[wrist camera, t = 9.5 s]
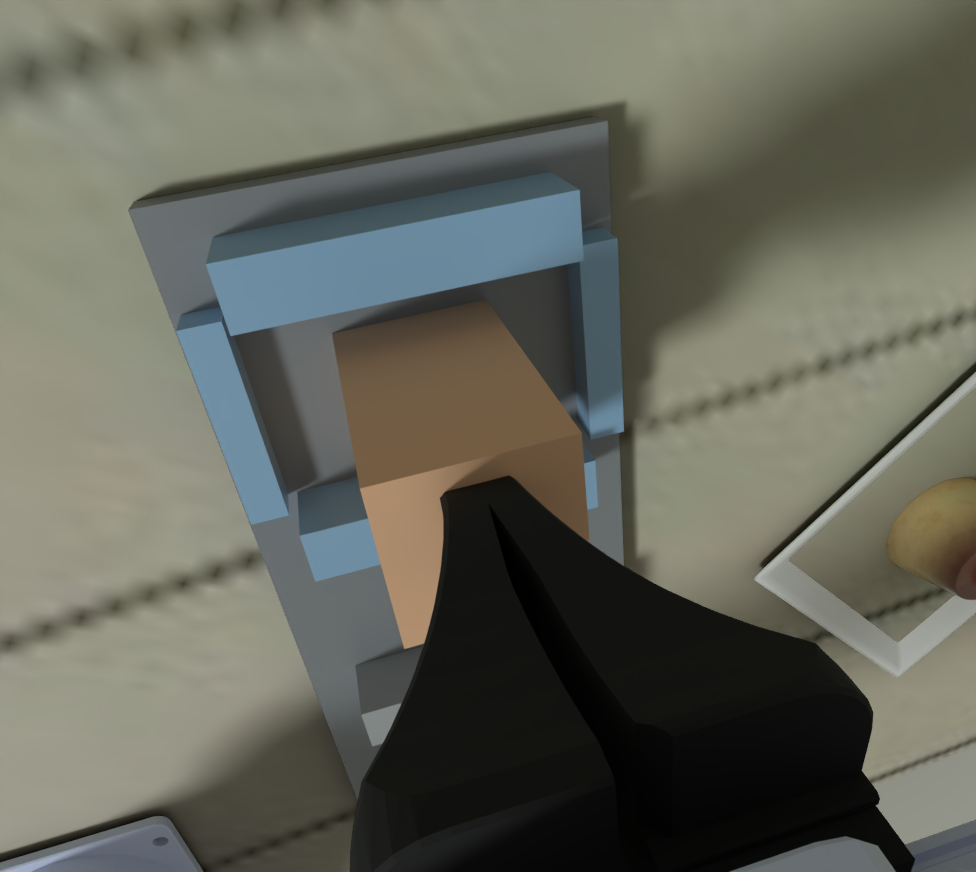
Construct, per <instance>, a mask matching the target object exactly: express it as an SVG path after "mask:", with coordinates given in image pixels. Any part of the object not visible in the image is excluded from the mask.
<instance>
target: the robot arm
mask: <svg viewBox="0 0 976 872" xmlns="http://www.w3.org/2000/svg"><path fill="white" fill-rule="evenodd" d="M440 502H441V507H442V512H443V548H442V560H441V569H440V575H439V581H438V587H437V593H436V598H435V603H434V608H433V612H432V617H431V621H430V625H429V628H428V632H427V635H426V639H425V642H424V646H423V649H422V651H421V654H420V657H419V660H418V663H417V666H416V669H415V672H414V675H413V677H412V680H411V683H410V685H409V688H408V690H407V692H406V695H405V697H404V699H403V701H402V704H401V706H400V708H399V710H398V713H397V715H396V717H395V719H394V722H393V724H392V726H391V728H390V730H389V732H388V734H387V736H386V738H385V740H384V742H383V744H382V745H381V747H380V749H379V751H378V753H377V754H376V756H375V758H374V760H373V762H372V763H371V765H370V767H369V769H368V771H367V772H366V774H365V776H364V778H363V780H362V782H361V786H360V791H359V796H358V802H357V807H356V812H355V818H354V825H353V831H352V840H351V851H350V872H976V820H974V821H971V822H968V823H965V824H962V825H959V826H957V827H954V828H951V829H948V830H945V831H942V832H940V833H937V834H934V835H931V836H928V837H926V838H923V839H920V840H917V841H914V842H911V843H908V844H904V843H903V842H902V841H901V839H900V838H899V836H898V835H897V834H896V832H895V831H894V830H893V828H892V827H891V826H890V824H889V823H888V821H887V820H886V819H885V817H884V816H883V815H882V813H881V812H880V811H879V809H878V808H877V807H876V805H877V804H878V803H879V800H880V798H879V795H878V792H877V790H876V789H875V788H874V786H873V785H872V784H871V783H870V781H869V780H868V779H867V777H866V776H865V775H864V773H863V772H862V767H863V763H864V759H865V755H866V751H867V747H868V743H869V739H870V735H871V731H872V722H873V711H872V708H871V706H870V703H869V701H868V699H867V698H866V697H865V695H864V694H863V693H862V692H861V691H860V689H859V688H858V687H857V686H856V685H855V683H854V682H853V681H852V680H851V679H850V678H849V676H848V675H847V674H846V673H845V672H844V671H843V670H842V669H841V668H840V667H839V666H838V665H837V664H836V663H835V662H834V661H833V660H832V659H831V658H830V657H829V656H828V655H827V654H826V653H825V652H823V651H822V649H821V648H820V647H819V646H818V645H817V644H816V643H813V642H809V641H806V640H802V639H799V638H795V637H792V636H788V635H785V634H781V633H778V632H774V631H771V630H767V629H764V628H760V627H757V626H754V625H751V624H748V623H745V622H743V621H740V620H737V619H734V618H732V617H729V616H726V615H723V614H721V613H718V612H716V611H713V610H711V609H708V608H706V607H703V606H701V605H699V604H697V603H694V602H692V601H690V600H688V599H686V598H683V597H681V596H679V595H677V594H674V593H672V592H670V591H668V590H666V589H664V588H662V587H660V586H658V585H656V584H654V583H652V582H651V581H649V580H647V579H645V578H644V577H642V576H640V575H638V574H637V573H635V572H633V571H631V570H630V569H628V568H626V567H625V566H623V565H622V564H620V563H619V562H617V561H615V560H614V559H612V558H611V557H609V556H608V555H606V554H605V553H604V552H602V551H601V550H599V549H598V548H596V547H595V546H593V545H592V544H591V543H589V542H588V541H587V540H585V539H584V538H583V537H581V536H580V535H579V534H577V533H576V532H575V531H574V530H572V529H571V528H570V527H568V526H567V525H566V524H565V523H563V522H562V521H561V520H560V519H558V518H557V517H556V516H555V515H554V514H552V513H551V512H550V511H549V510H548V509H547V508H546V507H544V506H543V505H542V504H541V503H540V502H539V501H538V500H537V499H535V498H534V497H533V496H532V495H531V494H530V493H529V492H528V491H527V490H526V489H525V488H524V487H523V486H522V485H521V484H520V483H519V482H518V481H517V480H516V479H514V478H513V477H511V476H510V475H509V476H505V477H501V478H497V479H493V480H490V481H486V482H482V483H478V484H474V485H470V486H466V487H462V488H458V489H454V490H450V491H446V492H444V493H443V495H442V496H441V497H440ZM0 872H203V870H202V868H201V867H200V865H199V864H198V862H197V861H196V859H195V858H194V856H193V854H192V853H191V851H190V850H189V848H188V847H187V845H186V844H185V842H184V841H183V839H182V837H181V836H180V834H179V833H178V831H177V830H176V828H175V827H174V825H173V823H172V822H171V821H170V820H169V819H168V818H167V817H164V816H154V817H150V818H147V819H143V820H140V821H137V822H133V823H130V824H127V825H123V826H120V827H117V828H113V829H110V830H107V831H103V832H100V833H97V834H93V835H90V836H87V837H83V838H80V839H77V840H74V841H70V842H67V843H64V844H60V845H57V846H54V847H50V848H47V849H44V850H40V851H37V852H34V853H30V854H27V855H24V856H20V857H17V858H14V859H10V860H7V861H4V862H0Z"/></svg>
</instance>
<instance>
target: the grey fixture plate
mask: <svg viewBox="0 0 976 872" xmlns="http://www.w3.org/2000/svg"><path fill="white" fill-rule="evenodd" d="M128 211H129V213H130V216H131V219H132V221H133V224H134V226H135V229H136V232H137V234H138V237H139V239H140V242H141V244H142V247H143V250H144V252H145V255H146V257H147V260H148V262H149V265H150V268H151V270H152V273H153V275H154V278H155V280H156V283H157V286H158V288H159V291H160V293H161V296H162V298H163V301H164V304H165V306H166V309H167V311H168V314H169V317H170V319H171V322H172V324H173V327H174V329H175V332H176V335H177V337H178V340H179V342H180V345H181V347H182V350H183V353H184V355H185V358H186V360H187V363H188V365H189V368H190V371H191V373H192V376H193V378H194V381H195V383H196V386H197V389H198V391H199V394H200V396H201V399H202V402H203V404H204V407H205V409H206V412H207V414H208V417H209V420H210V422H211V425H212V427H213V430H214V432H215V435H216V438H217V440H218V443H219V445H220V448H221V450H222V453H223V456H224V458H225V461H226V463H227V466H228V469H229V471H230V474H231V476H232V479H233V481H234V484H235V487H236V489H237V492H238V494H239V497H240V499H241V502H242V505H243V507H244V510H245V512H246V515H247V517H248V520H249V523H250V525H251V528H252V530H253V533H254V535H255V538H256V541H257V543H258V546H259V548H260V551H261V554H262V556H263V559H264V561H265V564H266V566H267V569H268V572H269V574H270V577H271V579H272V582H273V584H274V587H275V590H276V592H277V595H278V597H279V600H280V602H281V605H282V608H283V610H284V613H285V615H286V618H287V620H288V623H289V626H290V628H291V631H292V633H293V636H294V639H295V641H296V644H297V646H298V649H299V651H300V654H301V657H302V659H303V662H304V664H305V667H306V669H307V672H308V675H309V677H310V680H311V682H312V685H313V687H314V690H315V693H316V695H317V698H318V700H319V703H320V705H321V708H322V711H323V713H324V716H325V718H326V721H327V724H328V726H329V729H330V731H331V734H332V736H333V739H334V742H335V744H336V747H337V749H338V752H339V754H340V757H341V760H342V762H343V765H344V767H345V770H346V772H347V775H348V778H349V780H350V783H351V785H352V788H353V790H354V793H355V796H356V798H357V801H358V796H359V791H360V786H361V782H362V780H363V778H364V776H365V774H366V772H367V771H368V769H369V767H370V765H371V763H372V762H373V760H374V758H375V756H376V754H377V753H378V751H379V749H380V747H381V745H382V744H383V742H384V740H385V738H386V736H387V734H388V732H389V730H390V728H391V726H392V724H393V722H394V719H395V717H396V715H397V713H398V710H399V708H400V706H401V704H402V701H403V699H404V697H405V695H406V692H407V690H408V688H409V685H410V683H411V680H412V677H413V675H414V672H415V669H416V666H417V663H418V660H419V657H420V654H421V651H422V649H423V646H424V644H421V645H417V646H414V647H410V648H407V649H404V646H403V642H402V639H401V635H400V632H399V628H398V624H397V621H396V617H395V614H394V610H393V606H392V603H391V599H390V596H389V592H388V588H387V585H386V581H385V578H384V574H383V570H382V567H381V563H380V560H379V556H378V552H377V549H376V545H375V542H374V538H373V534H372V531H371V527H370V524H369V520H368V516H367V513H366V509H365V505H364V502H363V498H362V495H361V491H360V487H359V481H358V476H357V470H356V465H355V459H354V454H353V448H352V442H351V437H350V431H349V426H348V420H347V415H346V409H345V404H344V398H343V393H342V387H341V381H340V376H339V370H338V365H337V359H336V354H335V348H334V343H333V337H332V333H336V332H340V331H345V330H349V329H354V328H359V327H363V326H368V325H372V324H377V323H381V322H386V321H390V320H395V319H400V318H404V317H409V316H413V315H418V314H422V313H427V312H432V311H436V310H441V309H445V308H450V307H454V306H459V305H463V304H468V303H473V302H477V301H482V300H487V301H488V303H489V304H490V306H491V307H492V308H493V310H494V311H495V313H496V314H497V315H498V317H499V318H500V320H501V321H502V322H503V324H504V325H505V326H506V328H507V329H508V331H509V332H510V333H511V335H512V336H513V338H514V339H515V340H516V342H517V343H518V345H519V346H520V347H521V349H522V350H523V352H524V353H525V354H526V356H527V357H528V359H529V360H530V361H531V363H532V364H533V365H534V367H535V368H536V370H537V371H538V372H539V374H540V375H541V377H542V378H543V379H544V381H545V382H546V384H547V385H548V386H549V388H550V389H551V391H552V392H553V393H554V395H555V396H556V397H557V399H558V400H559V402H560V403H561V404H562V406H563V407H564V409H565V410H566V411H567V413H568V414H569V416H570V417H571V418H572V420H573V421H574V423H575V424H576V425H577V427H578V428H579V430H580V431H581V432H582V442H583V456H584V470H585V484H586V498H587V511H588V525H589V539H590V543H591V544H592V545H593V546H595V547H596V548H598V549H599V550H601V551H602V552H604V553H605V554H606V555H608V556H609V557H611V558H612V559H614V560H615V561H617V562H619V563H620V564H622V565H623V566H624V554H623V527H622V499H621V471H620V444H619V433H620V432H624V418H623V386H622V355H621V324H620V293H619V261H618V238H617V237H616V236H614V235H613V234H612V222H611V195H610V167H609V140H608V121H607V120H604V119H601V118H599V117H596V116H594V117H589V118H584V119H578V120H573V121H567V122H562V123H557V124H551V125H546V126H540V127H535V128H529V129H524V130H519V131H513V132H508V133H502V134H497V135H492V136H486V137H481V138H475V139H470V140H464V141H459V142H454V143H448V144H443V145H437V146H432V147H427V148H421V149H416V150H410V151H405V152H400V153H394V154H389V155H383V156H378V157H372V158H367V159H362V160H356V161H351V162H345V163H340V164H335V165H329V166H324V167H318V168H313V169H307V170H302V171H297V172H291V173H286V174H280V175H275V176H270V177H264V178H259V179H253V180H248V181H243V182H237V183H232V184H226V185H221V186H215V187H210V188H205V189H199V190H194V191H188V192H183V193H178V194H172V195H167V196H161V197H156V198H150V199H145V200H140V201H134V202H133V204H132V205H131V207H130V208H129V210H128Z"/></svg>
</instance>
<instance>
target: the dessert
mask: <svg viewBox="0 0 976 872" xmlns="http://www.w3.org/2000/svg"><path fill="white" fill-rule="evenodd" d="M975 387H976V372H975V373H974V374H972V375H971V376H970V377H969V378H968V379H967V380H966V381H965V382H964V383H963V384H962V385H961V386H960V387H958V388H957V389H956V390H955V391H954V392H953V393H952V394H951V395H950V396H949V397H948V398H947V399H945V400H944V401H943V402H942V403H941V404H940V405H939V406H938V407H937V408H936V409H935V410H934V411H933V412H931V413H930V414H929V415H928V416H927V417H926V418H925V419H924V420H923V421H922V422H921V423H920V424H918V425H917V426H916V427H915V428H914V429H913V430H912V431H911V432H910V433H909V434H908V435H907V436H906V437H904V438H903V439H902V440H901V441H900V442H899V443H898V444H897V445H896V446H895V447H894V448H893V449H892V450H890V451H889V452H888V453H887V454H886V455H885V456H884V457H883V458H882V459H881V460H880V461H879V462H877V463H876V464H875V465H874V466H873V467H872V468H871V469H870V470H869V471H868V472H867V473H866V474H865V475H863V476H862V477H861V478H860V479H859V480H858V481H857V482H856V483H855V484H854V485H853V486H852V487H850V488H849V489H848V490H847V491H846V492H845V493H844V494H843V495H842V496H841V497H840V498H839V499H838V500H836V501H835V502H834V503H833V504H832V505H831V506H830V507H829V508H828V509H827V510H826V511H825V512H823V513H822V514H821V515H820V516H819V517H818V518H817V519H816V520H815V521H814V522H813V523H812V524H811V525H809V526H808V527H807V528H806V529H805V530H804V531H803V532H802V533H801V534H800V535H799V536H798V537H797V538H795V539H794V540H793V541H792V542H791V543H790V544H789V545H788V546H787V547H786V548H785V549H784V550H782V551H781V552H780V553H779V554H778V555H777V556H776V557H775V558H774V559H773V560H772V561H771V562H770V563H768V564H767V565H766V566H765V567H764V568H763V569H762V570H761V571H760V572H759V573H758V574H757V575H756V576H755V578H754V579H755V581H756V582H758V583H759V584H760V585H762V586H763V587H765V588H766V589H768V590H769V591H771V592H772V593H774V594H775V595H776V596H778V597H779V598H781V599H782V600H784V601H785V602H787V603H788V604H789V605H791V606H792V607H794V608H795V609H797V610H798V611H800V612H801V613H803V614H804V615H805V616H807V617H808V618H810V619H811V620H813V621H814V622H816V623H817V624H818V625H820V626H821V627H823V628H824V629H826V630H827V631H829V632H830V633H832V634H833V635H834V636H836V637H837V638H839V639H840V640H842V641H843V642H845V643H846V644H847V645H849V646H850V647H852V648H853V649H855V650H856V651H858V652H859V653H861V654H862V655H863V656H865V657H866V658H868V659H869V660H871V661H872V662H874V663H875V664H876V665H878V666H879V667H881V668H882V669H884V670H885V671H887V672H888V673H889V674H891V675H892V676H894V677H895V678H898V677H900V676H901V675H902V674H903V673H904V672H906V671H907V670H908V669H909V668H910V667H912V666H913V665H914V664H915V663H916V662H918V661H919V660H920V659H921V658H923V657H924V656H925V655H926V654H927V653H929V652H930V651H931V650H932V649H933V648H935V647H936V646H937V645H938V644H939V643H941V642H942V641H943V640H944V639H946V638H947V637H948V636H949V635H950V634H952V633H953V632H954V631H955V630H956V629H958V628H959V627H960V626H961V625H963V624H964V623H965V622H966V621H967V620H969V619H970V618H971V617H972V616H973V615H975V614H976V480H973V479H970V478H956V479H951V480H947V481H944V482H942V483H939V484H937V485H935V486H933V487H931V488H929V489H928V490H926V491H925V492H923V493H922V494H920V495H919V496H918V497H916V498H915V499H914V500H913V501H912V502H911V503H910V504H909V505H908V506H907V507H906V508H905V509H904V510H903V511H902V512H901V514H900V515H899V516H898V518H897V519H896V521H895V522H894V524H893V526H892V528H891V530H890V532H889V535H888V539H887V544H886V550H887V555H888V558H889V559H890V561H891V562H892V563H893V564H894V565H896V566H897V567H899V568H902V569H904V570H906V571H908V572H910V573H912V574H914V575H916V576H918V577H920V578H922V579H924V580H926V581H928V582H930V583H932V584H934V585H936V586H938V587H940V588H942V589H944V590H946V591H948V592H950V593H952V594H954V596H953V597H952V598H951V599H950V600H948V601H947V602H946V603H945V604H944V605H942V606H941V607H940V608H939V609H938V610H937V611H935V612H934V613H933V614H932V615H931V616H929V617H928V618H927V619H926V620H925V621H924V622H922V623H921V624H920V625H919V626H918V627H916V628H915V629H914V630H913V631H912V632H911V633H909V634H908V635H907V636H906V637H905V638H903V639H902V640H901V641H899V642H896V641H894V640H893V639H892V638H890V637H889V636H888V635H886V634H885V633H884V632H882V631H881V630H880V629H878V628H877V627H876V626H874V625H873V624H872V623H870V622H869V621H868V620H866V619H865V618H864V617H863V616H861V615H860V614H859V613H857V612H856V611H855V610H853V609H852V608H851V607H849V606H848V605H847V604H845V603H844V602H843V601H841V600H840V599H839V598H837V597H836V596H835V595H833V594H832V593H831V592H829V591H828V590H827V589H825V588H824V587H823V586H821V585H820V584H819V583H817V582H816V581H815V580H813V579H812V578H811V577H809V576H808V575H807V574H805V573H804V572H803V571H801V570H800V569H799V568H797V567H796V566H795V565H793V564H792V563H791V562H790V560H789V559H790V558H791V556H792V555H793V554H794V553H796V552H797V551H798V550H799V549H800V548H801V547H802V546H803V545H804V544H805V543H806V542H807V541H809V540H810V539H811V538H812V537H813V536H814V535H815V534H816V533H817V532H818V531H819V530H821V529H822V528H823V527H824V526H825V525H826V524H827V523H828V522H829V521H830V520H831V519H833V518H834V517H835V516H836V515H837V514H838V513H839V512H840V511H841V510H842V509H843V508H844V507H846V506H847V505H848V504H849V503H850V502H851V501H852V500H853V499H854V498H855V497H856V496H858V495H859V494H860V493H861V492H862V491H863V490H864V489H865V488H866V487H867V486H868V485H869V484H871V483H872V482H873V481H874V480H875V479H876V478H877V477H878V476H879V475H880V474H881V473H883V472H884V471H885V470H886V469H887V468H888V467H889V466H890V465H891V464H892V463H893V462H894V461H896V460H897V459H898V458H899V457H900V456H901V455H902V454H903V453H904V452H905V451H906V450H908V449H909V448H910V447H911V446H912V445H913V444H914V443H915V442H916V441H917V440H918V439H920V438H921V437H922V436H923V435H924V434H925V433H926V432H927V431H928V430H929V429H930V428H931V427H933V426H934V425H935V424H936V423H937V422H938V421H939V420H940V419H941V418H942V417H943V416H945V415H946V414H947V413H948V412H949V411H950V410H951V409H952V408H953V407H954V406H955V405H956V404H958V403H959V402H960V401H961V400H962V399H963V398H964V397H965V396H966V395H967V394H968V393H970V392H971V391H972V390H973V389H974V388H975Z"/></svg>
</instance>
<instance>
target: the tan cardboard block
mask: <svg viewBox="0 0 976 872" xmlns="http://www.w3.org/2000/svg"><path fill="white" fill-rule="evenodd" d="M332 337H333V343H334V348H335V354H336V359H337V365H338V370H339V376H340V381H341V387H342V393H343V398H344V404H345V409H346V415H347V420H348V426H349V431H350V437H351V442H352V448H353V454H354V459H355V465H356V470H357V476H358V481H359V487H360V491H361V495H362V498H363V502H364V505H365V509H366V513H367V516H368V520H369V524H370V527H371V531H372V534H373V538H374V542H375V545H376V549H377V552H378V556H379V560H380V563H381V567H382V570H383V574H384V578H385V581H386V585H387V588H388V592H389V596H390V599H391V603H392V606H393V610H394V614H395V617H396V621H397V624H398V628H399V632H400V635H401V639H402V642H403V646H404V649H407V648H410V647H414V646H417V645H421V644H424V642H425V639H426V635H427V632H428V628H429V625H430V621H431V617H432V612H433V608H434V603H435V598H436V593H437V587H438V581H439V575H440V569H441V560H442V548H443V512H442V507H441V502H440V497H441V496H442V495H443V493H444V492H446V491H450V490H454V489H458V488H462V487H466V486H470V485H474V484H478V483H482V482H486V481H490V480H493V479H497V478H501V477H505V476H509V475H510V476H511V477H513V478H514V479H516V480H517V481H518V482H519V483H520V484H521V485H522V486H523V487H524V488H525V489H526V490H527V491H528V492H529V493H530V494H531V495H532V496H533V497H534V498H535V499H537V500H538V501H539V502H540V503H541V504H542V505H543V506H544V507H546V508H547V509H548V510H549V511H550V512H551V513H552V514H554V515H555V516H556V517H557V518H558V519H560V520H561V521H562V522H563V523H565V524H566V525H567V526H568V527H570V528H571V529H572V530H574V531H575V532H576V533H577V534H579V535H580V536H581V537H583V538H584V539H585V540H587V541H588V542H589V543H590V539H589V525H588V511H587V498H586V484H585V470H584V456H583V442H582V432H581V431H580V430H579V428H578V427H577V425H576V424H575V423H574V421H573V420H572V418H571V417H570V416H569V414H568V413H567V411H566V410H565V409H564V407H563V406H562V404H561V403H560V402H559V400H558V399H557V397H556V396H555V395H554V393H553V392H552V391H551V389H550V388H549V386H548V385H547V384H546V382H545V381H544V379H543V378H542V377H541V375H540V374H539V372H538V371H537V370H536V368H535V367H534V365H533V364H532V363H531V361H530V360H529V359H528V357H527V356H526V354H525V353H524V352H523V350H522V349H521V347H520V346H519V345H518V343H517V342H516V340H515V339H514V338H513V336H512V335H511V333H510V332H509V331H508V329H507V328H506V326H505V325H504V324H503V322H502V321H501V320H500V318H499V317H498V315H497V314H496V313H495V311H494V310H493V308H492V307H491V306H490V304H489V303H488V301H487V300H482V301H477V302H473V303H468V304H463V305H459V306H454V307H450V308H445V309H441V310H436V311H432V312H427V313H422V314H418V315H413V316H409V317H404V318H400V319H395V320H390V321H386V322H381V323H377V324H372V325H368V326H363V327H359V328H354V329H349V330H345V331H340V332H336V333H332Z"/></svg>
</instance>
